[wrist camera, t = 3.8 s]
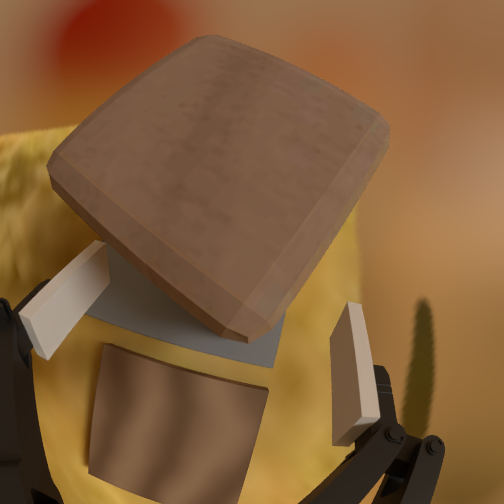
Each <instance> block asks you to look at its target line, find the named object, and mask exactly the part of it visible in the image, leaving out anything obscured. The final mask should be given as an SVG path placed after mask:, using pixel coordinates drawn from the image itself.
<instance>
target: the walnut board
mask: <svg viewBox="0 0 504 504" xmlns="http://www.w3.org/2000/svg"><path fill="white" fill-rule="evenodd" d="M268 393H269V390H268V388H266V387H261V386H256V385H251V384H246V383H242V382H237V381H233V380H228V379H224V378H220V377H216V376H212V375H208V374H204V373H201V372H197V371H193V370H190V369H186V368H183V367H179V366H176V365H172V364H169V363H166V362H163V361H160V360H156V359H153V358H150V357H147V356H144V355H141V354H138V353H136V352H133V351H130V350H127V349H124V348H122V347H119V346H116V345H113V344H104V348H103V353H102V358H101V364H100V369H99V375H98V382H97V388H96V395H95V402H94V410H93V418H92V428H91V439H90V452H89V470H88V474H90V475H92V476H95V477H97V478H99V479H101V480H103V481H105V482H107V483H110V484H112V485H114V486H116V487H119V488H121V489H124V490H126V491H129V492H131V493H134V494H136V495H139V496H142V497H144V498H147V499H150V500H153V501H156V502H159V503H162V504H237V503H238V500H239V497H240V493H241V490H242V487H243V483H244V480H245V477H246V473H247V470H248V467H249V463H250V460H251V456H252V453H253V449H254V446H255V442H256V438H257V435H258V431H259V427H260V424H261V420H262V416H263V412H264V408H265V405H266V401H267V397H268Z"/></svg>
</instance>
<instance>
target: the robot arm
mask: <svg viewBox="0 0 504 504" xmlns="http://www.w3.org/2000/svg"><path fill="white" fill-rule="evenodd" d="M109 284H110V275H109V267H108V257H107V247H106V243H105V242H101V241H97V240H95V241H94V242H93V243H91V244H90V245H89V246H88V247H87V248H86V249H84V250H83V251H82V252H81V253H80V254H79V255H78V256H77V257H75V258H74V259H73V260H72V261H71V262H70V263H69V264H68V265H67V266H66V267H65V268H63V269H62V270H61V271H60V272H59V273H58V274H57V275H56V276H55V277H54V278H53V279H52V280H50V279H47V280H45V281H43V282H41V283H40V284H39V285H38V286H36V287H35V288H34V290H32V291H31V292H30V293H29V295H27V296H26V297H25V298H24V299H23V300H22V301H21V302H20V303H19V304H18V305H17V306H16V308H15V309H14V310H13V311H12V310H11V307H10V305H9V302H8V301H7V300H6V299H4V298H0V504H64V503H63V500H62V497H61V495H60V492H59V490H58V489H57V487H56V486H55V484H54V483H53V481H52V478H51V475H50V471H49V468H48V464H47V460H46V456H45V451H44V447H43V442H42V438H41V432H40V427H39V421H38V415H37V408H36V401H35V392H34V382H33V370H32V355H31V352H30V350H31V349H32V348H33V347H34V349H35V351H36V353H37V355H39V356H40V357H42V358H44V359H46V360H47V361H48V360H49V359H50V357H51V356H52V355H53V353H54V352H55V351H56V349H57V348H58V347H59V345H60V344H61V343H62V341H63V340H64V339H65V337H66V336H67V335H68V334H69V332H70V331H71V330H72V328H73V327H74V326H75V325H76V323H77V322H78V321H79V320H80V318H81V317H82V316H83V315H84V313H85V312H86V311H87V310H88V309H89V307H90V306H91V305H92V304H93V303H94V301H95V300H96V299H97V298H98V297H99V295H100V294H101V293H102V292H103V291H104V289H105V288H106V287H107V286H108V285H109ZM330 355H331V379H332V446H345V447H349V446H350V445H351V444H352V443H353V442H355V450H353V451H352V452H351V453H350V454H348V455H347V456H346V457H345V458H346V459H345V460H344V461H343V462H342V463H341V464H340V465H339V466H338V467H337V468H336V469H335V470H334V471H333V472H332V473H331V474H330V475H329V476H328V477H327V478H326V479H325V480H324V481H323V482H322V483H321V484H320V485H318V486H317V487H316V488H315V489H314V490H313V491H312V492H311V493H310V494H309V495H307V496H306V497H305V498H304V499H303V500H302V501H300V502H299V503H298V504H359V503H360V502H361V500H363V498H364V497H365V496H366V495H367V494H368V493H369V491H370V490H371V489H372V488H373V486H374V485H375V484H376V483H377V482H378V480H379V479H380V478H381V476H382V475H383V474H384V473H385V476H384V478H383V481H382V483H381V485H380V487H379V490H378V491H377V494H376V496H375V498H374V500H373V502H372V504H430V502H431V499H432V496H433V493H434V490H435V487H436V484H437V480H438V477H439V473H440V470H441V466H442V462H443V458H444V454H445V446H444V443H443V441H442V440H441V439H440V438H439V437H437V436H434V435H430V436H427V437H426V438H424V439H423V440H422V439H419V438H416V437H413V436H410V435H408V434H406V432H405V430H404V428H403V427H402V426H401V425H400V424H398V423H397V418H396V412H395V406H394V400H393V394H392V388H391V386H390V385H391V383H390V378H389V374H388V373H387V371H386V369H385V368H384V367H383V366H379V365H373V363H372V357H371V352H370V346H369V341H368V336H367V330H366V325H365V321H364V316H363V311H362V306H361V304H357V303H353V302H348V301H347V304H346V306H345V308H344V310H343V312H342V314H341V316H340V318H339V320H338V322H337V325H336V327H335V329H334V331H333V333H332V335H331V337H330Z"/></svg>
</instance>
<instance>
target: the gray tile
mask: <svg viewBox="0 0 504 504" xmlns="http://www.w3.org/2000/svg"><path fill="white" fill-rule="evenodd" d="M103 242H105V243H106V247H107V257H108V267H109V275H110V284H109V285H108V286H107V287H106V288H105V289H104V291H103V292H102V293H101V294H100V295H99V297H98V298H97V299H96V300H95V301H94V303H93V304H92V305H91V306H90V307H89V309H88V310H87V311H86V312H85V313H84V314H87V315H89V316H92V317H94V318H97V319H100V320H102V321H105V322H108V323H110V324H113V325H116V326H119V327H122V328H125V329H127V330H130V331H133V332H136V333H139V334H142V335H145V336H149V337H152V338H155V339H158V340H161V341H165V342H168V343H171V344H175V345H178V346H182V347H185V348H189V349H192V350H196V351H200V352H204V353H207V354H211V355H215V356H219V357H223V358H227V359H232V360H236V361H240V362H245V363H249V364H254V365H259V366H263V367H268V368H273V365H274V361H275V357H276V352H277V348H278V344H279V339H280V335H281V331H282V326H283V321H284V317H285V313H284V314H283V315H282V317H281V318H280V320H279V321H278V322H277V324H276V325H275V327H274V328H273V329H272V330H271V331H269V332H267V333H266V334H264V335H263V336H261V337H259V338H258V339H256V340H254V341H253V342H251V343H249V344H246V343H242V342H238V341H234V340H230V339H226V338H222V337H220V336H218V335H217V334H216V333H214V332H213V331H212V330H211V329H209V328H208V327H207V326H205V325H204V324H203V323H201V322H200V321H199V320H198V319H196V318H195V317H194V316H192V315H191V314H190V313H189V312H187V311H186V310H185V309H184V308H182V307H181V306H180V305H179V304H177V303H176V302H175V301H174V300H172V299H171V298H170V297H169V296H168V295H166V294H165V293H164V292H163V291H161V290H160V289H159V288H158V287H157V286H156V285H154V284H153V283H152V282H151V281H150V280H148V279H147V278H146V277H145V276H144V275H143V274H141V273H140V272H139V271H138V270H137V269H136V268H135V267H133V266H132V265H131V264H130V263H129V262H128V261H127V260H126V259H124V258H123V257H122V256H121V255H120V254H119V253H118V252H117V251H116V250H115V249H113V248H112V247H111V246H110V245H109V244H108V243H107V242H106V241H105V240H104V239H103ZM285 312H286V311H285Z"/></svg>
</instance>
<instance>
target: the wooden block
mask: <svg viewBox="0 0 504 504" xmlns="http://www.w3.org/2000/svg"><path fill="white" fill-rule="evenodd" d="M389 135H390V125H389V123H388V122H387V121H386V120H385V119H384V118H383V116H382V115H381V114H380V113H379V112H377V111H376V110H374V109H373V108H371V107H369V106H368V105H366V104H365V103H363V102H361V101H360V100H358V99H356V98H355V97H353V96H351V95H350V94H348V93H346V92H344V91H343V90H341V89H339V88H338V87H336V86H334V85H332V84H330V83H328V82H326V81H325V80H323V79H321V78H319V77H317V76H315V75H313V74H311V73H309V72H307V71H305V70H303V69H301V68H299V67H297V66H295V65H293V64H291V63H288V62H286V61H284V60H282V59H279V58H277V57H275V56H272V55H270V54H268V53H265V52H263V51H260V50H258V49H255V48H253V47H250V46H247V45H245V44H242V43H239V42H237V41H234V40H231V39H228V38H225V37H222V36H219V35H206V36H201V37H196V38H195V39H193V40H191V41H190V42H188V43H186V44H184V45H183V46H181V47H179V48H178V49H176V50H175V51H173V52H172V53H170V54H168V55H167V56H165V57H164V58H163V59H161V60H160V61H158V62H156V63H155V64H154V65H152V66H151V67H149V68H148V69H146V70H145V71H144V72H142V73H141V74H139V75H138V76H137V77H136V78H134V79H133V80H131V81H130V82H129V83H128V84H126V85H125V86H124V87H122V88H121V89H120V90H119V91H117V92H116V93H115V94H114V95H112V96H111V97H110V98H109V99H108V100H106V101H105V102H104V103H103V104H102V105H101V106H99V107H98V108H97V109H96V110H95V111H94V112H93V113H92V114H90V115H89V116H88V117H87V118H86V119H85V120H84V121H83V122H82V123H81V124H80V125H79V126H78V127H77V128H76V129H75V130H73V131H72V132H71V133H70V134H69V135H68V136H67V137H66V138H65V139H64V140H63V142H62V143H61V144H60V145H59V146H58V147H57V148H56V149H55V150H54V151H53V153H52V155H51V157H50V159H49V161H48V163H47V165H46V166H47V169H48V172H49V176H50V180H51V184H52V188H53V190H54V191H55V192H56V193H57V194H58V195H59V196H60V197H61V198H62V199H63V200H64V201H65V202H66V203H67V204H68V205H69V206H70V207H71V208H72V209H73V210H74V211H75V212H76V213H77V214H78V215H79V216H80V217H81V218H82V219H83V220H84V221H85V222H86V223H87V224H88V225H89V226H90V227H91V228H92V229H93V230H94V231H95V232H96V233H97V234H98V235H99V236H101V237H102V238H103V239H104V240H105V241H106V242H107V243H108V244H109V245H110V246H111V247H112V248H113V249H115V250H116V251H117V252H118V253H119V254H120V255H121V256H122V257H123V258H124V259H126V260H127V261H128V262H129V263H130V264H131V265H132V266H133V267H135V268H136V269H137V270H138V271H139V272H140V273H141V274H143V275H144V276H145V277H146V278H147V279H148V280H150V281H151V282H152V283H153V284H154V285H156V286H157V287H158V288H159V289H160V290H161V291H163V292H164V293H165V294H166V295H168V296H169V297H170V298H171V299H172V300H174V301H175V302H176V303H177V304H179V305H180V306H181V307H182V308H184V309H185V310H186V311H187V312H189V313H190V314H191V315H192V316H194V317H195V318H196V319H198V320H199V321H200V322H201V323H203V324H204V325H205V326H207V327H208V328H209V329H211V330H212V331H213V332H214V333H216V334H217V335H218V336H220V337H222V338H226V339H230V340H234V341H238V342H242V343H246V344H249V343H251V342H253V341H254V340H256V339H258V338H259V337H261V336H263V335H264V334H266V333H267V332H269V331H271V330H272V329H273V328H274V327H275V325H276V324H277V322H278V321H279V320H280V318H281V317H282V315H283V314H284V313H285V311H286V310H287V308H288V307H289V305H290V304H291V303H292V301H293V300H294V298H295V297H296V295H297V294H298V293H299V291H300V290H301V288H302V287H303V285H304V284H305V282H306V281H307V279H308V278H309V276H310V275H311V273H312V272H313V270H314V269H315V267H316V266H317V264H318V263H319V261H320V260H321V258H322V257H323V255H324V254H325V252H326V251H327V249H328V248H329V246H330V244H331V243H332V241H333V240H334V238H335V237H336V235H337V234H338V232H339V230H340V229H341V227H342V226H343V224H344V222H345V221H346V219H347V218H348V216H349V214H350V213H351V211H352V209H353V208H354V206H355V205H356V203H357V201H358V200H359V198H360V196H361V195H362V193H363V191H364V190H365V188H366V186H367V184H368V183H369V181H370V179H371V178H372V176H373V174H374V173H375V171H376V169H377V167H378V166H379V164H380V162H381V160H382V159H383V157H384V155H385V153H386V151H387V150H388V147H389Z"/></svg>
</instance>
